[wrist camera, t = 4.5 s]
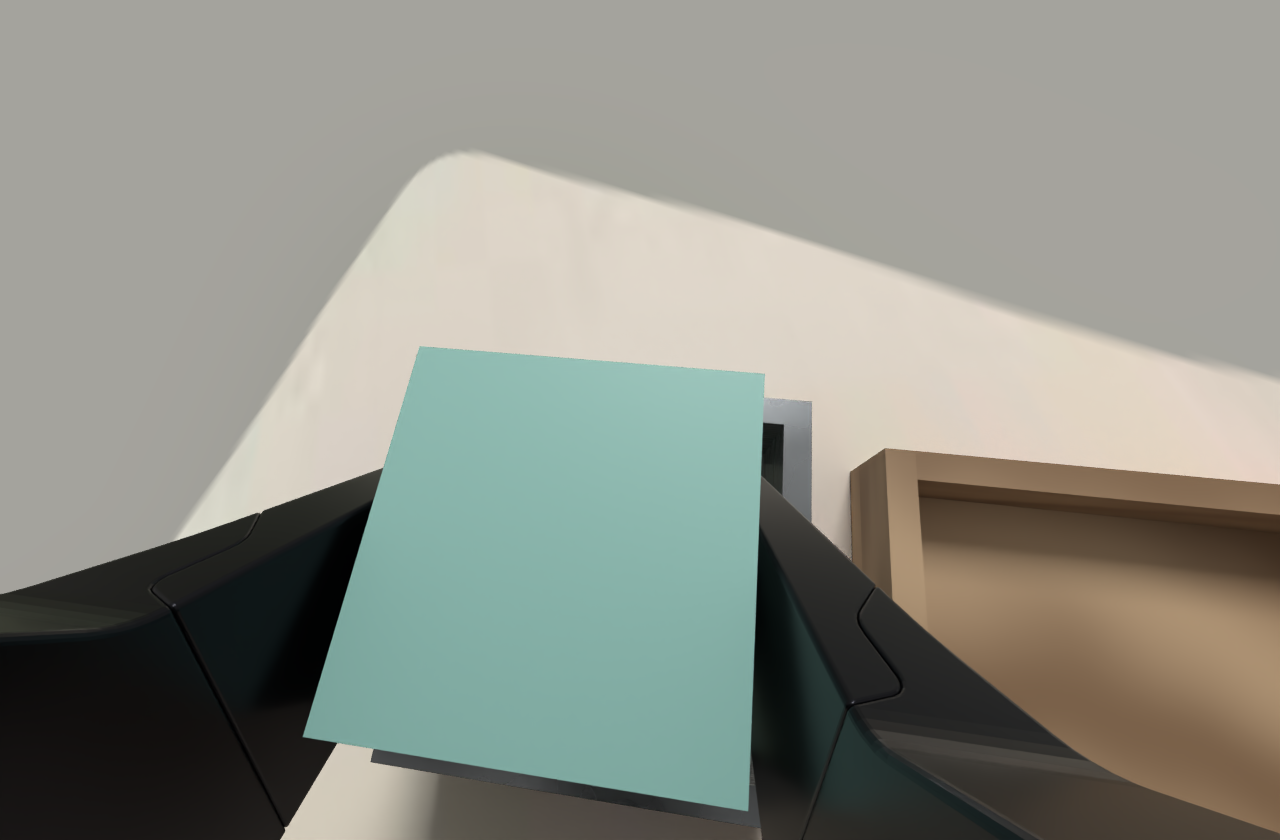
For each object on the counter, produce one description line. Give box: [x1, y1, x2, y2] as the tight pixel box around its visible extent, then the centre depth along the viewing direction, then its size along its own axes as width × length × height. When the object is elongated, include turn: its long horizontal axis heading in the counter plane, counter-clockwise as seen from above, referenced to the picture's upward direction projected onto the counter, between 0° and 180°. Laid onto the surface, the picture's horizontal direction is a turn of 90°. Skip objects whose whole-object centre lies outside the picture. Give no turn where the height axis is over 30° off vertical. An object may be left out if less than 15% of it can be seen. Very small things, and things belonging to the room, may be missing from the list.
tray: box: [850, 448, 1280, 833], centre depth 12 cm, size 14×14×3 cm
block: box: [303, 346, 765, 811], centre depth 11 cm, size 5×5×10 cm
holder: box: [371, 398, 812, 828], centre depth 14 cm, size 9×9×4 cm
